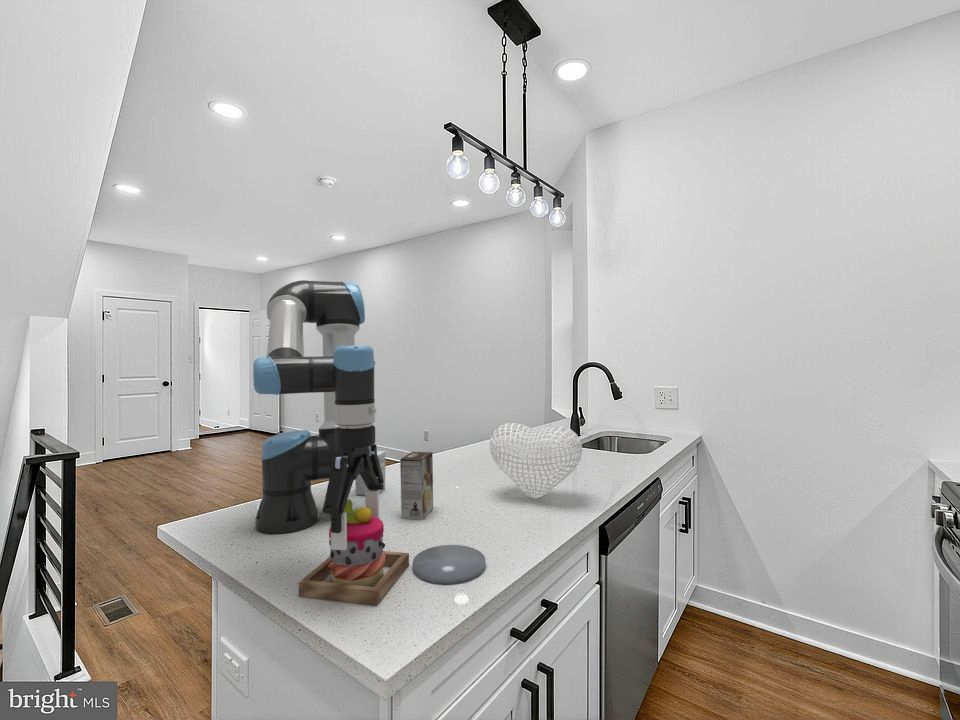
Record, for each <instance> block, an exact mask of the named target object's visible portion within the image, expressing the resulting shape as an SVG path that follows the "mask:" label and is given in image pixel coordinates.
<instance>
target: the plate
mask: <svg viewBox="0 0 960 720" xmlns="http://www.w3.org/2000/svg"><path fill="white" fill-rule="evenodd" d="M485 569H486V557H485V555H484V554H483V552H481V550H478V549H477V548H474V547H471V546H468V545H467V546H466V545H462V544H461V545H460V544H445V545H443V544H441V545H436V546H432V547H429V548H426V549H423V550H422V551H420V552H418V553H417V554H415V556H414V557H413V559H412V572H413V574H414V575H415V577H417V578H418V579H420V580H422V581H424V582H427V583H431V584H435V585H436V584H437V585H456V584H462V583H465V582H469V581H472V580H474V579H476V578H478V577H480V574H481V573H482V572H483V573H484V571H485ZM483 573H482V574H483ZM482 574H481V575H482ZM477 576H478V577H477ZM471 579H472V580H471Z"/></svg>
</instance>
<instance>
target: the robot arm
mask: <svg viewBox="0 0 960 720" xmlns="http://www.w3.org/2000/svg"><path fill="white" fill-rule="evenodd" d="M363 297H364V296H363V293H362V290H361V288H360V286H359V285H358V284H357V283H353V282H344V281H343V280H342V281H325V280H324V281H323V280H303V279H302V280H296V281H293V282H290V283H288V284H286V285H283V286H282V287H280V288H279V289H277V290H276V291H275V292H274V293H272V295H271V296H270V297H269V299H268V302H267V304H266V316H267V319H268V321H269V326H268V327H269V328H268V336H267V337H268V339H267V349H266V356H262V357H257V358H255V360H253V366H252V367H253V370H252V372H253V373H252V374H253V378H252V379H253V388H254V391H255V393H257V394H259V395H274V396H278V395H287V394H290V395H292V394H306V393H307V394H310V393H312V394H315V393H323V408H324V409H323V418H324V421H323V423H322V424H321V425H320V426H319V427H318V435H311V434H312V433H311V432H310V431H309V430H306V429H303V430H300V429H299V430H292V431H287V432H281V433H279V434H275V435H271V436H269V437H267V438H266V439H265V440H264V441H263V442H262V444H261V457H260V460H261V462H262V463H261V465H262V466H261V467H262V470H261V471H262V477H261V479H262V483H261V484H262V486H261V487H262V496H261V500H260V502H259V506H258V510H257V512H256V513H257V514H256V516H255V522H254V523H255V529H256V530H257V531H258V532H260V531H261V533H263V532H264V533H263V534H274V533H275V534H287V533H293V532H297V531H301V530H305V529H306V528H309V527H311V526H313V525H314V524H316V523H317V522H318V521H319V508H318V507H317V504H316V501H315V498H314V495H313V493H312V481H318V480H319V481H320V480H328V483H327V487H326V492H325V496H324V502H323V506H322V509H321V510H322V514H325V515H329V516H330V527H331V548H330V550H331V549H334V550H346V549H347V513H345V512H344V509H345V506H346V503H347V500H348V499H349V496H350V493H351V489H352V486H353V484H354V481H355V479H356V478H357V476H358V475H361V477H362V479H363V481H364V483H365V485H366V487H367V488H368V489H369V490H366V491H365V495H364V496H365V497H364V499H365V505H364V507H367V508H369V509H370V511H371V514H372V515H371V516H373V517H376V518H379V519H380V494H379V491H378V490H383V488H384V485H383V483H384V479H383V475H382V471H381V467H380V463H379V459H378V456H377V451H378V448H377V444H376V426H375V425H374V423H375V421H376V418H375V417H376V413H377V408H375V407H376V405H375V404H376V403H375V402H376V401H375V366H376V361H375V355H374V354H375V353H374V352H375V351H374V349H373V347H372V346H370V345H355V344H356V342H355V335H356V334H357V333H358V332H359V330H360V325H362V324H364V323H365V320H366V315H365V314H366V313H365V312H366V311H365V302H364V298H363ZM305 323H309V324H315V325H316V331H317V332H318V333H320V334H321V336H322V356H305V348H304V347H305V346H304V343H305V342H304V324H305ZM377 477H378V478H377ZM292 531H293V532H292ZM286 532H287V533H286Z"/></svg>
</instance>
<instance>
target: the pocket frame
mask: <svg viewBox="0 0 960 720" xmlns="http://www.w3.org/2000/svg"><path fill="white" fill-rule="evenodd" d="M383 552H384V554H385V563H384V566H386V567H389V568H388V570H387V571H386V572H385V573H384V574H383V577H382V578H381V579H380V581H379V582H378V583H377V584H376V585H375V586H374V587H367V586H358V585H349V584H340V583H331V581H330V582H329V581H324V580H325V579H326V578H328V576H330V575H331V569H330V568H329V567H328V566H329V564H330V563H331V562H332V560H331V557H330V556H328V558H326V559H325V560H324V561H323V562H322V563H320V564H319V565H318V566H317V567H315V568H314V569H313V570H312V571H311V572H310V573H308V574H307V575H306V576H305V577H304V578H302V579H301V580H300V581H299V582H298V585H297V586H298V597H301V596H302V597H303V598H310V599H317V600H319V599H320V600H328V601H336V602H345V603H353V604H354V603H355V604H361V605H362V604H363V605H369V606H370V605H371V606H378V605H379V604H380V603H381V602H382V600H383V599H384V598H385V596H386V595H387V594H388V593H389V591H390V590H391V589H392V587H393V586H394V585H395V584H396V582H397V581H398V580H399V579H400V577H401V576H402V575H403V574H404V572H406V570H407V569H408V567H409V566H410V553H409V552H401V551H400V552H398V551H390V550H389V551H388V550H383ZM384 566H383V567H384ZM321 581H322V582H321ZM302 597H301V598H302Z"/></svg>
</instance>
